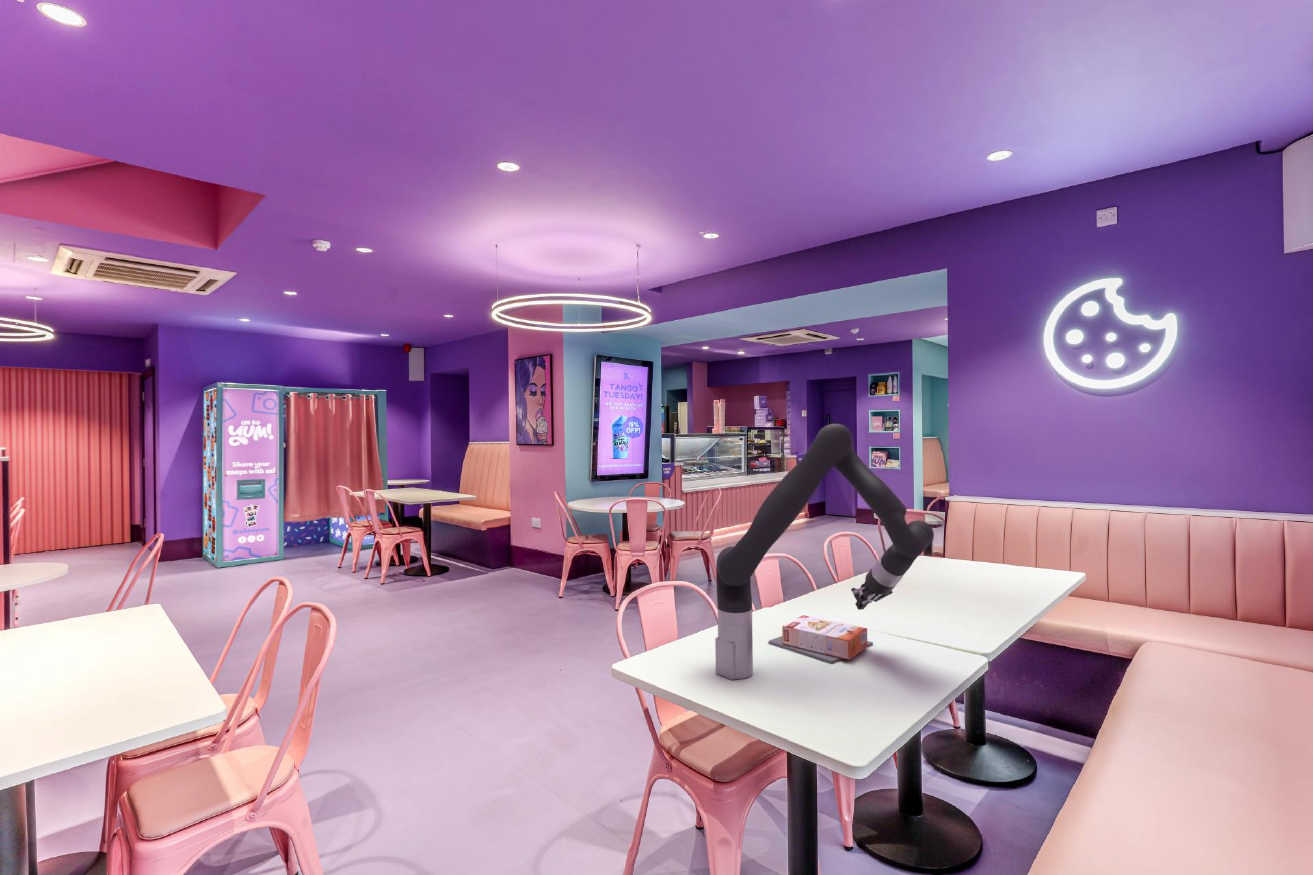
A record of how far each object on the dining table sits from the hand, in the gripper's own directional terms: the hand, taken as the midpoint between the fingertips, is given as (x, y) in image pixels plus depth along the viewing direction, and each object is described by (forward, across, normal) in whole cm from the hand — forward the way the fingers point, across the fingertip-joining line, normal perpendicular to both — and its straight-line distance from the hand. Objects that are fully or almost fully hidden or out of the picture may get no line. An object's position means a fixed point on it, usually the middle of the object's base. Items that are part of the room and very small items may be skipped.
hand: (859, 606), depth 172 cm
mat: (+15, +8, +3) cm, 17 cm away
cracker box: (+4, +3, +9) cm, 10 cm away
